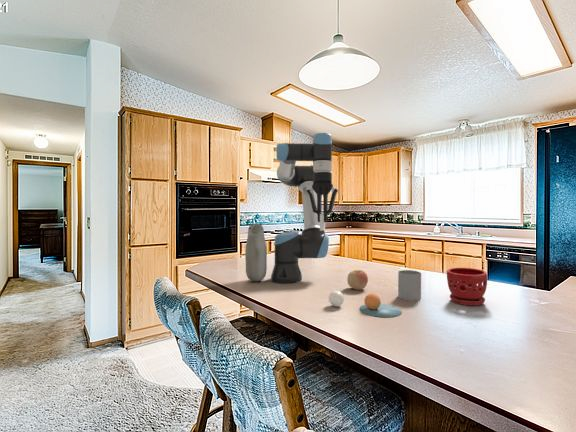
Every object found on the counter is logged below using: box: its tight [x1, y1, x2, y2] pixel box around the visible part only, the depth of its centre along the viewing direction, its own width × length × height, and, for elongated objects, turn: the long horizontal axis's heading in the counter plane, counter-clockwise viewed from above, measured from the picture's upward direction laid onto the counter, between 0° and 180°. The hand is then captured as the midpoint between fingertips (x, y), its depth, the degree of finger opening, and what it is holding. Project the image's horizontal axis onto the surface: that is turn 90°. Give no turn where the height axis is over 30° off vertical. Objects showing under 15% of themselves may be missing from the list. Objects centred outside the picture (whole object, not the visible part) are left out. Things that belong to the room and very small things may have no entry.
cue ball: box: [328, 290, 345, 308], centre depth 114 cm, size 6×6×6 cm
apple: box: [346, 269, 369, 291], centre depth 138 cm, size 9×9×8 cm
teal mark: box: [359, 303, 402, 318], centre depth 110 cm, size 14×14×1 cm
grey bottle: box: [244, 222, 268, 283], centre depth 153 cm, size 10×10×28 cm
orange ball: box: [363, 293, 382, 310], centre depth 111 cm, size 6×6×6 cm
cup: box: [397, 269, 422, 302], centre depth 125 cm, size 8×8×10 cm
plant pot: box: [446, 267, 488, 307], centre depth 119 cm, size 13×13×12 cm
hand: (322, 230), depth 129 cm, fingers closed
